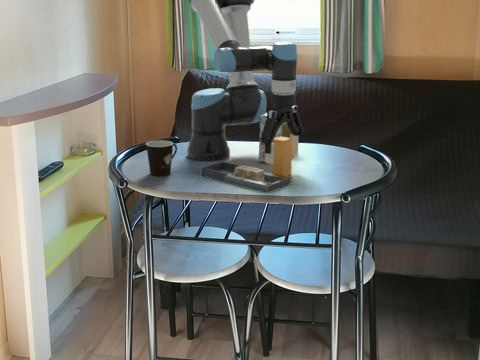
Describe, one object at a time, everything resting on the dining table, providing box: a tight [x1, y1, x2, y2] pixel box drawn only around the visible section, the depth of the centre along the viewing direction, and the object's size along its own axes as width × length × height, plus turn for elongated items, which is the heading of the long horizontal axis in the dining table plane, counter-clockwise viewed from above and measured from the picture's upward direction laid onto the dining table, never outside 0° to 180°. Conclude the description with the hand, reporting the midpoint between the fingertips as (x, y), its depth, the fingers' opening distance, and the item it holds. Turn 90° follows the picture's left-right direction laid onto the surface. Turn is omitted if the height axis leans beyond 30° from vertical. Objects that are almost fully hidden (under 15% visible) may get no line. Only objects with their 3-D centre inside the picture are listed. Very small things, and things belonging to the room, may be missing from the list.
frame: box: [201, 161, 243, 182], centre depth 217 cm, size 10×11×2 cm
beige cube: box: [234, 164, 254, 178], centre depth 212 cm, size 4×4×4 cm
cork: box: [282, 122, 293, 138], centre depth 246 cm, size 6×6×11 cm
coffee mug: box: [145, 140, 178, 177], centre depth 217 cm, size 12×9×10 cm
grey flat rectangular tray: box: [223, 170, 292, 193], centre depth 209 cm, size 17×12×2 cm
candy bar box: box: [258, 112, 282, 164], centre depth 234 cm, size 11×5×16 cm, turn 159°
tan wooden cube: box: [246, 167, 265, 182], centre depth 210 cm, size 4×4×4 cm
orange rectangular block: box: [271, 136, 293, 177], centre depth 216 cm, size 4×4×12 cm
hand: (281, 159), depth 217 cm, fingers open, 13 cm apart
